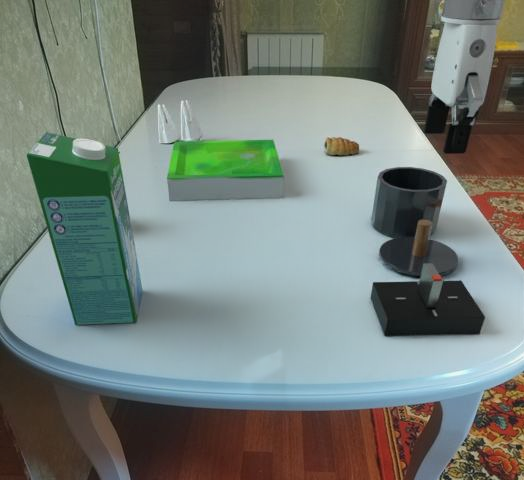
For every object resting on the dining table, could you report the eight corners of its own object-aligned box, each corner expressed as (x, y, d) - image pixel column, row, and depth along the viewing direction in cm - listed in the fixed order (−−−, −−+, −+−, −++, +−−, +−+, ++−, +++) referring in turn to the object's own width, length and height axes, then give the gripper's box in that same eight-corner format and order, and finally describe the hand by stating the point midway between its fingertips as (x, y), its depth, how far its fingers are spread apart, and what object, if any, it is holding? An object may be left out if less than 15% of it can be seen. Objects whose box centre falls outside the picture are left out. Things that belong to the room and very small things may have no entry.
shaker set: (203, 141, 143) (200, 98, 136) (200, 146, 140) (197, 102, 133) (163, 139, 145) (158, 97, 138) (158, 144, 142) (153, 101, 135)
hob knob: (417, 289, 77) (423, 261, 74) (426, 289, 77) (433, 261, 74) (426, 307, 73) (433, 279, 70) (436, 307, 73) (443, 279, 70)
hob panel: (456, 296, 81) (461, 279, 79) (480, 333, 73) (486, 316, 71) (370, 298, 81) (373, 281, 79) (384, 336, 73) (387, 318, 71)
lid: (442, 241, 96) (451, 205, 91) (468, 279, 85) (479, 240, 81) (371, 242, 95) (376, 206, 91) (388, 280, 85) (395, 241, 80)
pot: (425, 211, 106) (435, 166, 100) (444, 239, 97) (456, 190, 91) (365, 212, 106) (372, 167, 100) (378, 240, 96) (386, 191, 90)
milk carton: (136, 322, 76) (103, 151, 60) (74, 325, 75) (25, 153, 59) (142, 290, 83) (114, 129, 67) (86, 292, 82) (44, 130, 66)
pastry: (356, 148, 139) (357, 133, 136) (361, 156, 133) (362, 141, 131) (322, 148, 138) (323, 134, 136) (325, 157, 133) (327, 142, 131)
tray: (176, 161, 130) (174, 141, 127) (273, 159, 131) (273, 139, 128) (169, 200, 111) (166, 178, 108) (283, 197, 112) (283, 175, 109)
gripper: (529, 16, 60) (489, 161, 71) (476, 2, 74) (449, 126, 84) (467, 16, 60) (436, 162, 71) (425, 2, 73) (404, 126, 84)
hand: (443, 142), depth 78 cm, fingers open, 9 cm apart
